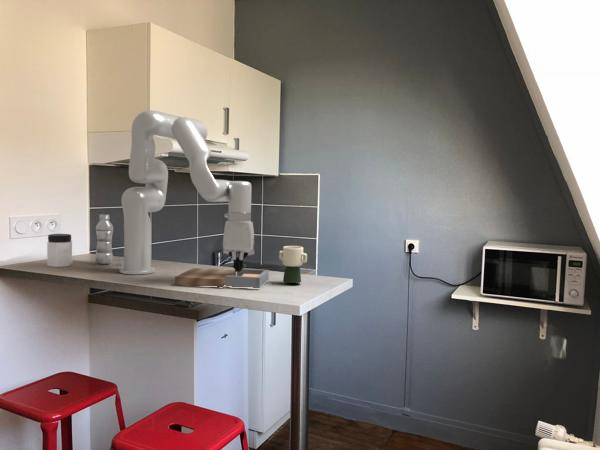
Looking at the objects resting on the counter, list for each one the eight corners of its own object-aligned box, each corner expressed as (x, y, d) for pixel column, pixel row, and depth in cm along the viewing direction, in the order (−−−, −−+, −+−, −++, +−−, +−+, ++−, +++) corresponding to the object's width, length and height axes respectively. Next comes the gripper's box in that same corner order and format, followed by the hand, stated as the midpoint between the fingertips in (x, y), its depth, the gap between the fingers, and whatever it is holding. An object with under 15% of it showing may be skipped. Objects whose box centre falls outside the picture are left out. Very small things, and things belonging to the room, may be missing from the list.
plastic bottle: (97, 262, 205) (97, 213, 203) (114, 262, 206) (115, 214, 204) (93, 265, 198) (93, 214, 197) (110, 265, 199) (111, 215, 198)
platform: (174, 285, 164) (175, 276, 164) (192, 276, 182) (192, 268, 182) (222, 288, 163) (222, 279, 162) (235, 278, 181) (236, 270, 180)
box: (225, 288, 164) (226, 276, 163) (237, 279, 179) (237, 268, 179) (259, 290, 162) (259, 277, 162) (268, 281, 178) (268, 269, 178)
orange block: (258, 277, 167) (258, 288, 167) (261, 274, 173) (260, 284, 173) (240, 276, 167) (240, 287, 167) (244, 273, 173) (243, 283, 173)
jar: (52, 263, 199) (52, 233, 198) (73, 263, 201) (73, 233, 200) (44, 267, 190) (44, 235, 190) (67, 267, 192) (67, 236, 191)
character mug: (310, 284, 175) (311, 247, 174) (301, 287, 168) (302, 249, 168) (283, 280, 180) (284, 244, 179) (273, 283, 174) (274, 246, 173)
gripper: (215, 217, 167) (213, 271, 168) (259, 219, 165) (257, 274, 166) (221, 216, 174) (219, 268, 175) (263, 217, 172) (261, 270, 174)
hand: (238, 271), depth 171 cm, fingers closed
